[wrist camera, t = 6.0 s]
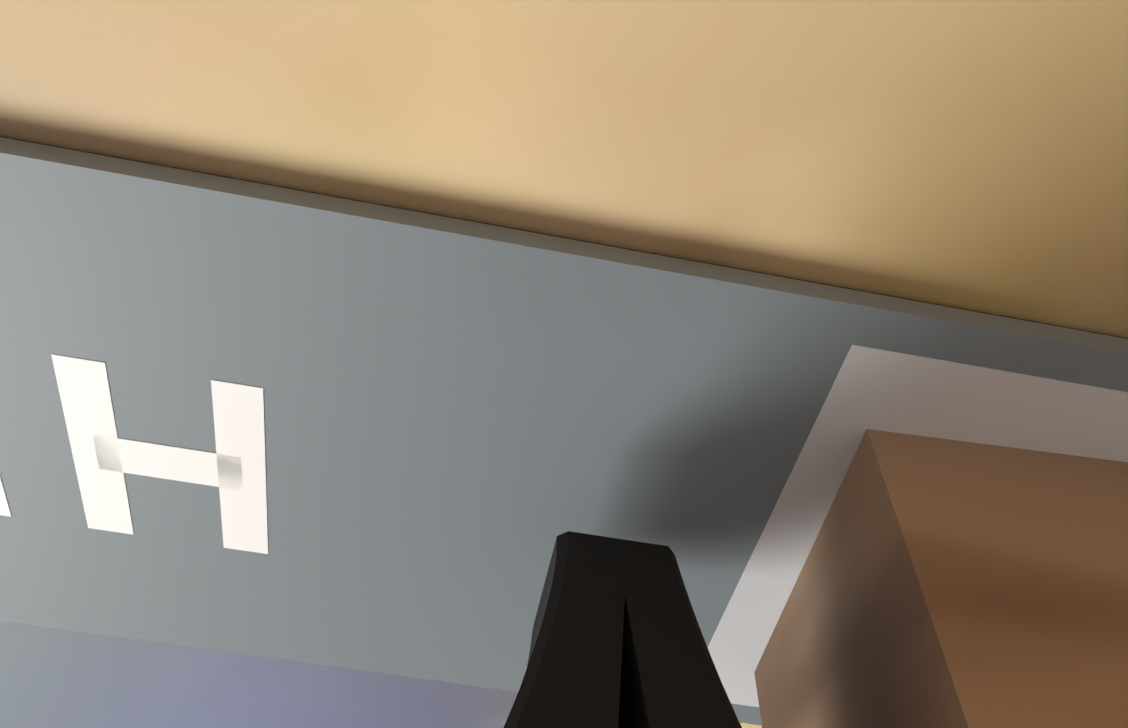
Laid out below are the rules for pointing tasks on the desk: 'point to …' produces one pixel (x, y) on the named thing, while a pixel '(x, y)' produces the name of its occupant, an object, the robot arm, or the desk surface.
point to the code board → (442, 418)
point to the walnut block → (958, 594)
